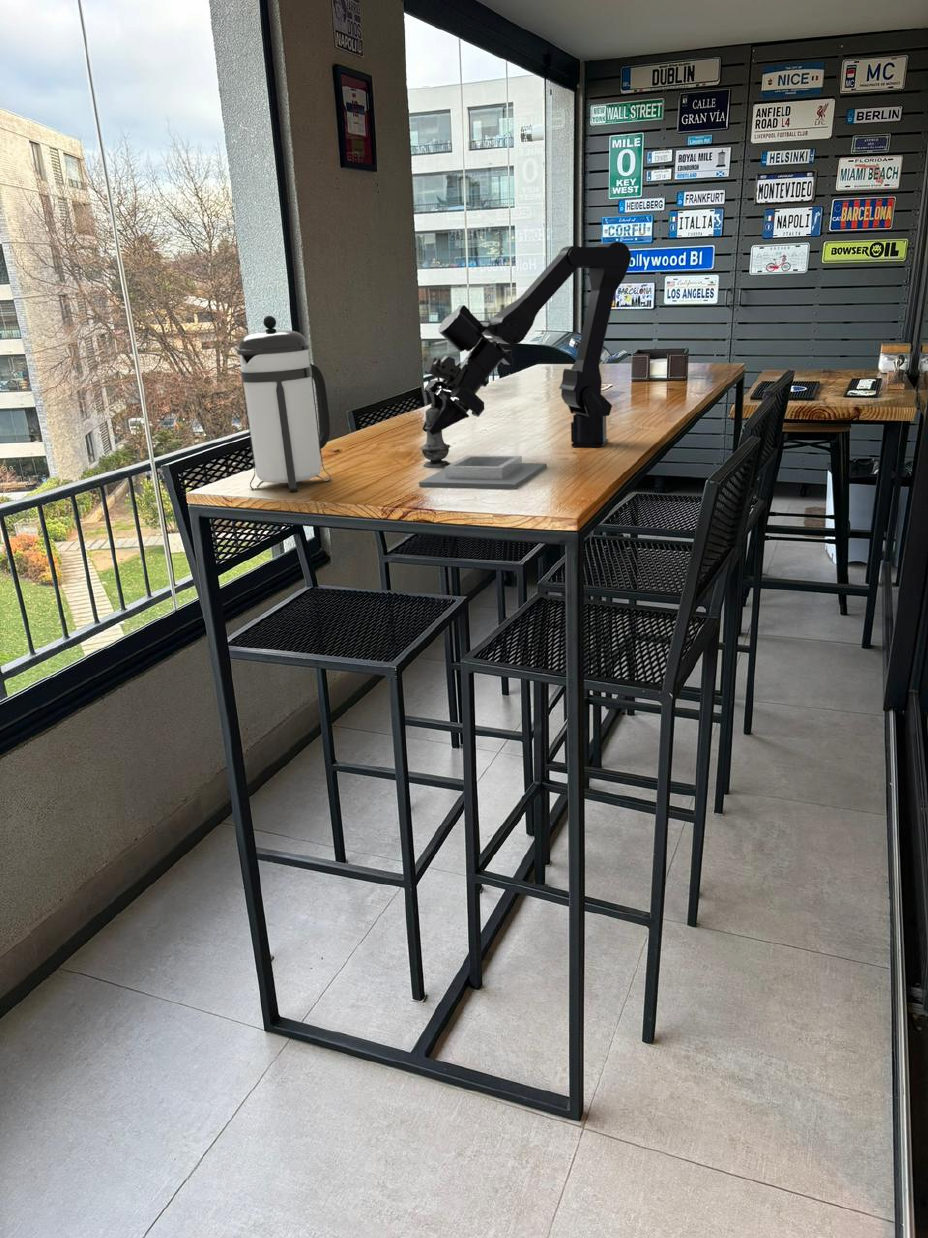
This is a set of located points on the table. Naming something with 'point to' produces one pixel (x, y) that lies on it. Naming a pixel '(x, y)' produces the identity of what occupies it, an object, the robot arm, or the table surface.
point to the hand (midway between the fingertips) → (427, 431)
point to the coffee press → (283, 406)
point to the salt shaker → (434, 442)
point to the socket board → (507, 483)
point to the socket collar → (483, 467)
